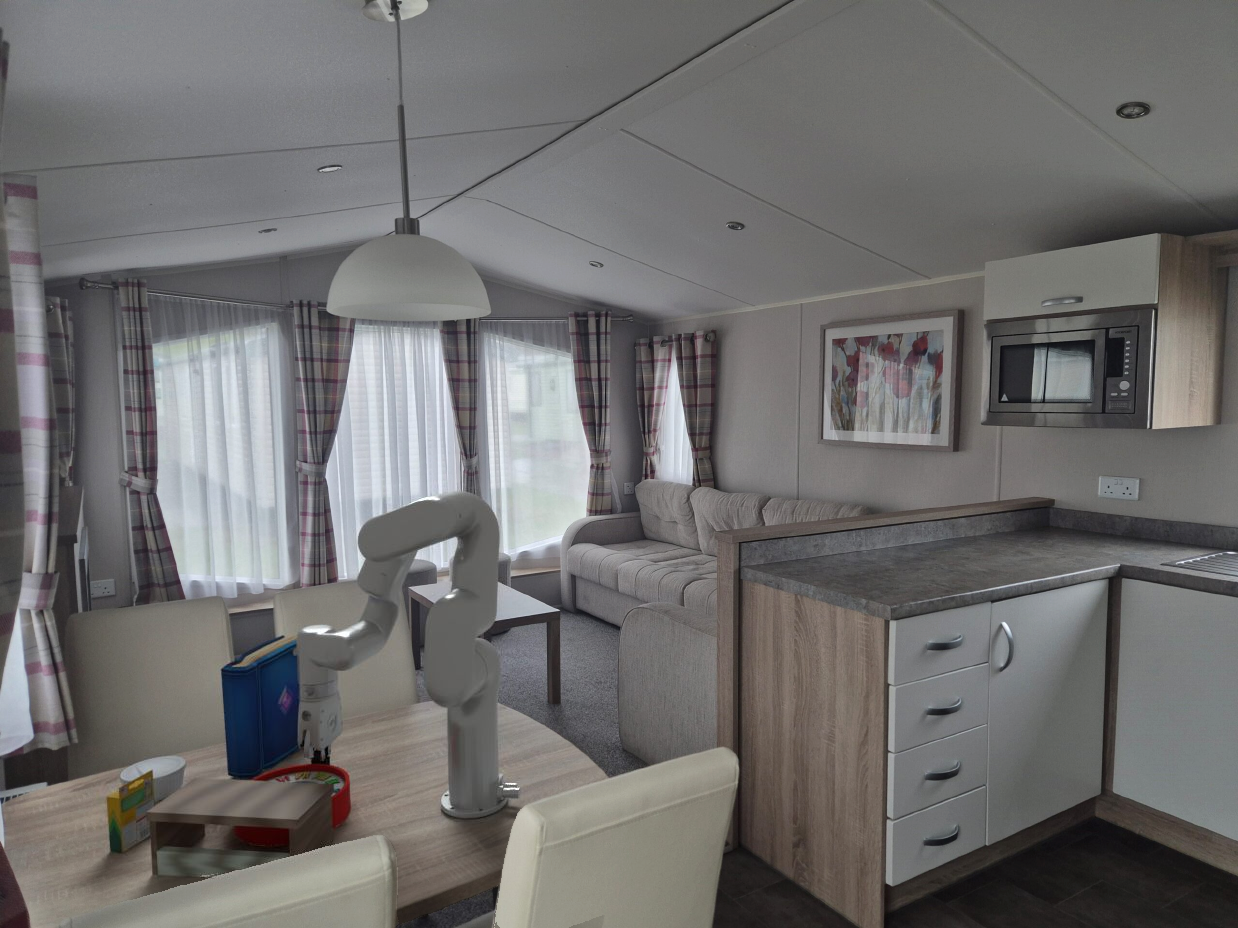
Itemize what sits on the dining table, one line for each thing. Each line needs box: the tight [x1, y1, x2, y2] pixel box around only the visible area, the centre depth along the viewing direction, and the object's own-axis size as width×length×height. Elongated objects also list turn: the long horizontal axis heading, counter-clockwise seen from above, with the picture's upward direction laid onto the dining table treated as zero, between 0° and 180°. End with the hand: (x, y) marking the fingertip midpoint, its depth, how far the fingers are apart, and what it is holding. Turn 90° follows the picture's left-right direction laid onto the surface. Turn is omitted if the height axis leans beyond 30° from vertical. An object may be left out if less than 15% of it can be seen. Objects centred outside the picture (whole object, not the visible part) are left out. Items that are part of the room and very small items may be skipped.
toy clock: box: [233, 763, 352, 847], centre depth 145 cm, size 20×6×20 cm
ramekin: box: [119, 755, 187, 803], centre depth 155 cm, size 11×11×5 cm
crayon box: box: [106, 770, 156, 854], centre depth 137 cm, size 7×3×12 cm, turn 166°
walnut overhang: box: [146, 777, 334, 879], centre depth 131 cm, size 26×12×10 cm, turn 83°
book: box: [220, 634, 300, 780], centre depth 169 cm, size 22×7×25 cm, turn 168°
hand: (320, 776), depth 158 cm, fingers closed
